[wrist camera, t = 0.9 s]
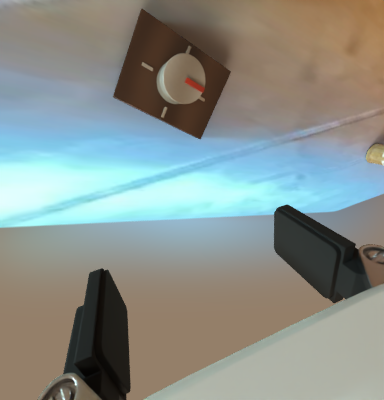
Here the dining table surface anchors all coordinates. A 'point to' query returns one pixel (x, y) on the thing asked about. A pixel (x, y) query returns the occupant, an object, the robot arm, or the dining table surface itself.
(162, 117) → the dial panel
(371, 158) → the sprinkles bottle
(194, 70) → the dial
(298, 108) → the dining table surface
